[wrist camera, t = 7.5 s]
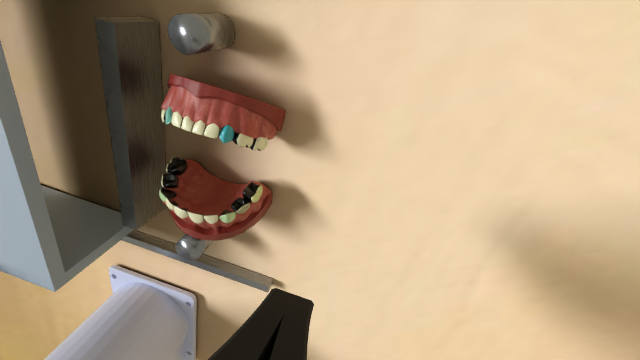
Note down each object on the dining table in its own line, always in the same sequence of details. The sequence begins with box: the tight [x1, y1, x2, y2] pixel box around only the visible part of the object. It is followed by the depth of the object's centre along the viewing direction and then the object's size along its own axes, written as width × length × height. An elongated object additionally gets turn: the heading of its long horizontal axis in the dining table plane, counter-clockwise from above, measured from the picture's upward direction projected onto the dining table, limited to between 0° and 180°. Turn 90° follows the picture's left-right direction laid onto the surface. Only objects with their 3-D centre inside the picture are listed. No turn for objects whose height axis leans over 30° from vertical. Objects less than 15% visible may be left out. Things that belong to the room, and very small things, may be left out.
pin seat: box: [94, 13, 273, 292], centre depth 19 cm, size 20×22×3 cm
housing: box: [0, 41, 134, 292], centre depth 18 cm, size 18×10×7 cm, turn 168°
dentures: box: [159, 74, 286, 241], centre depth 18 cm, size 6×5×9 cm
